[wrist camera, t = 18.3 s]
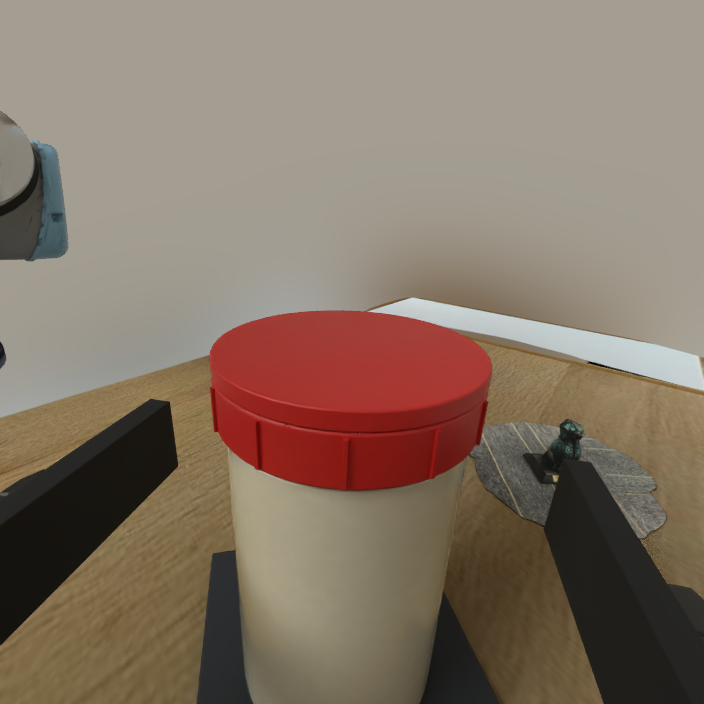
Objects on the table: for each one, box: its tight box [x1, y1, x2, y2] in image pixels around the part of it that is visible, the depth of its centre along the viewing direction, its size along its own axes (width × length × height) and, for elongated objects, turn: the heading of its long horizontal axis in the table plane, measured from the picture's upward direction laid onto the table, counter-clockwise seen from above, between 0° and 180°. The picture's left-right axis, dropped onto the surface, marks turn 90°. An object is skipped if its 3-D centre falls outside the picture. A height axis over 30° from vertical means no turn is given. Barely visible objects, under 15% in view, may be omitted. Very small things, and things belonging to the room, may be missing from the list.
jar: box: [227, 446, 467, 704], centre depth 13 cm, size 7×7×12 cm
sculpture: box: [469, 419, 667, 538], centre depth 27 cm, size 12×9×8 cm
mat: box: [197, 550, 499, 704], centre depth 15 cm, size 10×10×1 cm
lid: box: [210, 311, 492, 491], centre depth 11 cm, size 8×8×2 cm
